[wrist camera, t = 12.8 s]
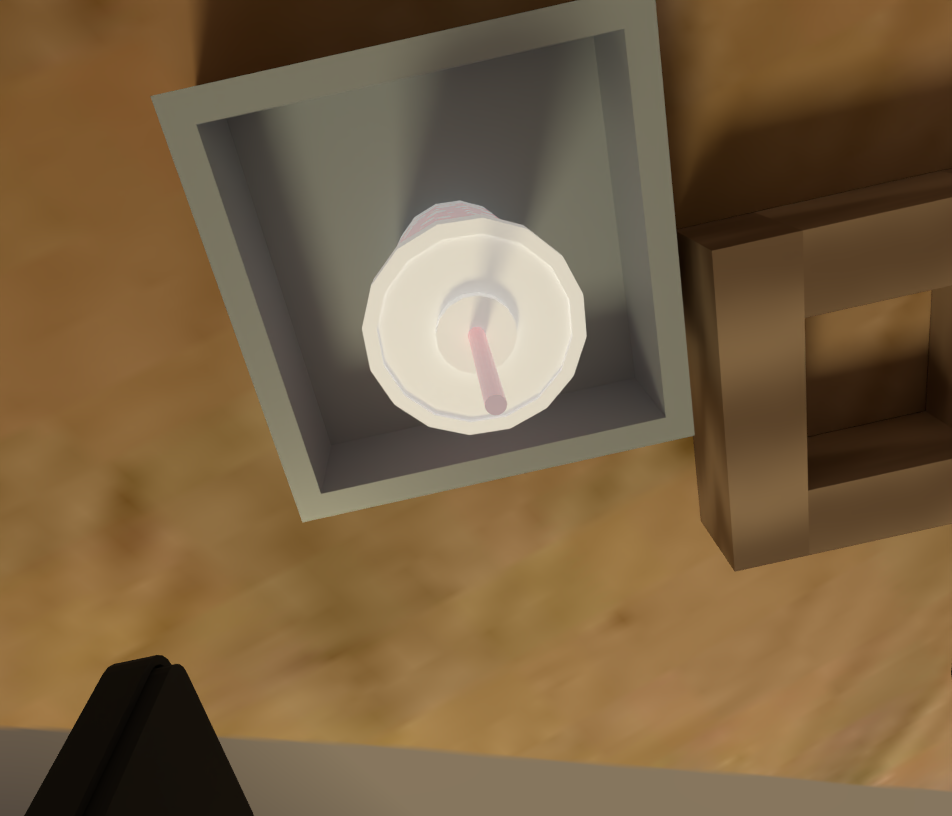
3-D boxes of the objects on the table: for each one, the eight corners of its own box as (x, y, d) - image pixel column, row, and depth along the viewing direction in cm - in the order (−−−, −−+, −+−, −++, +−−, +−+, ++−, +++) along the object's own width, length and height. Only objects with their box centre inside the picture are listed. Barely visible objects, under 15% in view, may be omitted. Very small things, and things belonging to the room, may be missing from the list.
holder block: (989, 457, 35) (1056, 500, 32) (700, 520, 35) (734, 571, 32) (1018, 153, 30) (1104, 163, 26) (674, 230, 30) (711, 250, 26)
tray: (654, 385, 32) (694, 435, 28) (317, 460, 32) (302, 522, 28) (610, 0, 26) (653, -17, 22) (195, 93, 26) (150, 96, 22)
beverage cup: (528, 341, 30) (619, 531, 17) (374, 336, 29) (348, 529, 16) (543, 183, 27) (661, 265, 15) (376, 174, 27) (346, 252, 14)
